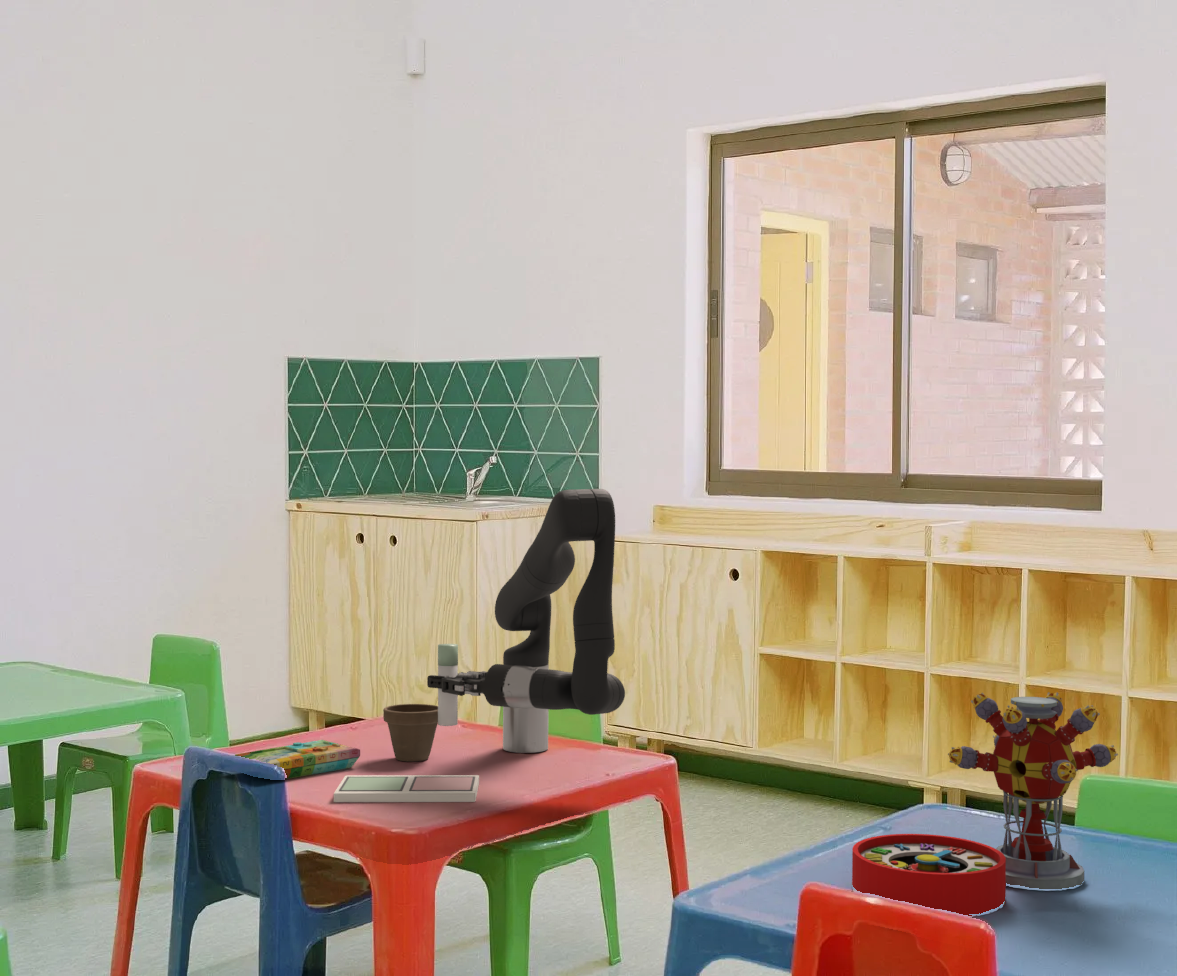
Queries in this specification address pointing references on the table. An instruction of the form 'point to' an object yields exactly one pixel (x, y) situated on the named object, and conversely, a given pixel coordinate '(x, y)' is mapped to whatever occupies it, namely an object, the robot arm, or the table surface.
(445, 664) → the green marker
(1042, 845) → the red knobbed tall piece
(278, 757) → the puzzle game
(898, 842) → the toy clock
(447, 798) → the colouring board
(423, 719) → the flower pot
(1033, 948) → the table surface
